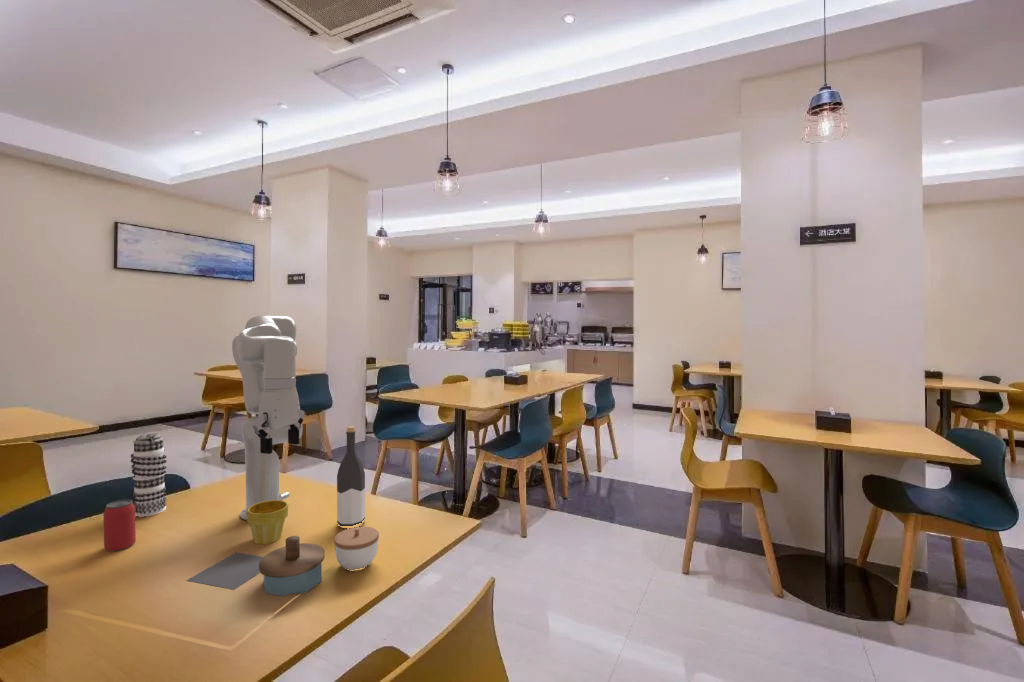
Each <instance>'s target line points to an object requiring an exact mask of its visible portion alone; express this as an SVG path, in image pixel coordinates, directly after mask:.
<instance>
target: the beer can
mask: <svg viewBox="0 0 1024 682" xmlns="http://www.w3.org/2000/svg"><path fill="white" fill-rule="evenodd" d="M133 503H134V502H133V499H120V500H115V501H112V502H110V503H107V504H106V505H105V509H104V511H103V514H102V515H103V518H102V519H103V548H104V550H105V551H108V552H117V551H121V550H125V549H128V548H129V547H132V546H133V545H134V544H135V543H136V541H137V540H136V535H137V533H136V516H135V507H134V505H133Z"/></svg>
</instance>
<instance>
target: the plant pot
mask: <svg viewBox="0 0 1024 682" xmlns="http://www.w3.org/2000/svg"><path fill="white" fill-rule="evenodd" d="M288 515H289V503H288V502H287V501H285V500H283V501H282V500H268V501H263V502H259V503H256V504H253V505H252V506H250V507H249V508H248V509H247V520H246V522H247V523H248V524H249V525H250V529H251V533H252V539H253V543H255V544H257V545H266V544H268V545H269V544H271V543H274V542H277V541H279V540H280V539H281V537H282V534H283V529H284V525H285V520H286V519H287V518H288Z"/></svg>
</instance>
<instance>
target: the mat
mask: <svg viewBox="0 0 1024 682" xmlns="http://www.w3.org/2000/svg"><path fill="white" fill-rule="evenodd" d="M263 557H264V556H262V555H261V556H260V555H254V554H249V553H242V552H234V553H231V554H230V555H228V556H226V557H224V558H223V559H221V560H219V561H217V562H216V563H214V564H213V565H211V566H209V567H206V568H205V569H204V570H202V571H200V572H198V573H197V574H195V575H193V576H191V577H189V578H188V579H186V581H187V582H191V583H197V584H202V585H208V586H211V587H219V588H222V589H228V590H233V591H235V590H236V589H238V588H240V587H241V586H242V585H243V584H246V583H247V582H248V581H250V580H252V578H255V577H256V576H257V575H259V574H262V573H261V572H260V571H259V562H260V560H261V559H262V558H263Z"/></svg>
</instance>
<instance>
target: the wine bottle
mask: <svg viewBox="0 0 1024 682" xmlns="http://www.w3.org/2000/svg"><path fill="white" fill-rule="evenodd" d="M345 434H346V453H345V455H344V456H343V459H342V460H341V462H340V464H339V467H338V471H337V474H336V509H337V510H336V513H337V514H336V518H337V519H336V521H337V523H338V524H339V525H340V526H353V525H356V524H359V523H362V521H363V520H364V519H365V520H366V472H365V467H364V466H363V462H362V460H361V458H360V457H359V455H358V454H357V452H356V431H355V426H354V425H352V426H351V425H350V426H347V429H346V431H345ZM337 523H336V524H337ZM338 524H337V525H338Z"/></svg>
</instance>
